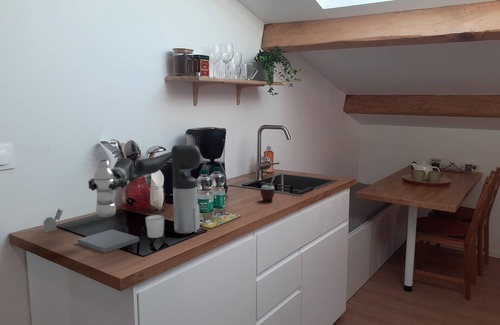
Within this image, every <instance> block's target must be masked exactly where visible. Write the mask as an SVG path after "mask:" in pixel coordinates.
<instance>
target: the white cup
mask: <svg viewBox="0 0 500 325" xmlns="http://www.w3.org/2000/svg"><path fill="white" fill-rule="evenodd" d="M145 225H146V231H147V232H146V233H147V237H148V238H151V239H157V238H160V237H163V236H164V228H165V227H164V226H165V216H164V215H161V214H152V215H148V216H146V217H145Z"/></svg>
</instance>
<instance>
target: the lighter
mask: <svg viewBox="0 0 500 325" xmlns="http://www.w3.org/2000/svg"><path fill="white" fill-rule="evenodd" d="M63 211H64V210H63V209H62V208H58V209H57V211H56V213H55V216H54V218H53V217H52V216H47V217H46V218H45V219H44V220H43V221H42V224H43V232H44V233H48V232H53V231H57V221H60V218H61V216H62V214H63Z"/></svg>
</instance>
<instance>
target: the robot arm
mask: <svg viewBox="0 0 500 325" xmlns="http://www.w3.org/2000/svg"><path fill="white" fill-rule="evenodd" d="M170 160H171V166H172V167H171V168H172V169H171V170H172V194H173V196H172V197H173V201H172V202H173V221H174V225H173V227H174V228H173V229H174V232H175V233H177V234H191V233H192V232H194V233H195V232H196V233H197V232H198V231H199V230H200V226H201V225H200V223H201V222H200V219H201V218H200V204H198V202H199V200H198V199H199V198H198V180H197V179H196V178H195V177H193V176H189V175H187V174H184V173H187V172H190V171H193V170H194V169H197V168H199V167H200V164H201V161H202V160H201V151H200V148H199V147H198V145H195V144H175V145H173V146H172V148H171V151H169V152H166V153H163V154H160V155H158V156H153V157H148V158H143V159H138V160H137V161H136V162H135V164H134V162H133V160H132V159H131V158H127V157H124V158H120V159H118V160H117V161H115V164H114V166H113V168H110V170H111V171H112V172H113V175H114V179H113V183H112V184H111V189H112V190H113V191H116V190H118V189H119V188H121V189H124V188H126V187H128V186H129V185H130V183H132V182H134V181H135V180H137V179H139V178H141V177H143V176H146V175H151V174H155V173H157V172H159V171H160V170H161V169H162V168H164V166H166V164H167V163H168V162H169V161H170ZM88 189H90V190H91V191H96V185H95V180H94V177H93V178H90V179H89V180H88ZM197 230H198V231H197Z"/></svg>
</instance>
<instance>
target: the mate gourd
mask: <svg viewBox="0 0 500 325" xmlns="http://www.w3.org/2000/svg"><path fill="white" fill-rule="evenodd" d="M279 173H280V171H278V172H276V173H274V175H273V176H272V179H271V182H270V184H263V185H262V186H261V187H260V195H261V197H262V203H263V202H264V203H265V201H266V202H268V201H269V203H272V202H273V197H274V196H275V192H276V191H275V186H274V185H273V183H274V182H273V181H274V179H275V178H276V176H277V175H278V174H279Z"/></svg>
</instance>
